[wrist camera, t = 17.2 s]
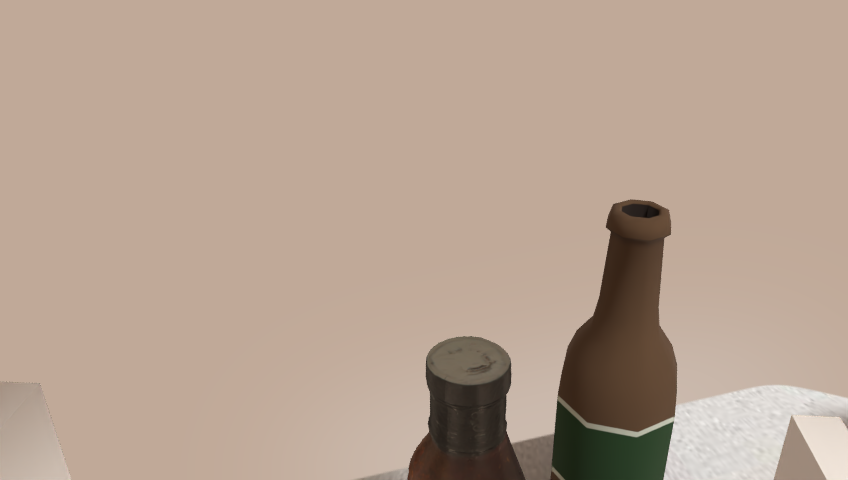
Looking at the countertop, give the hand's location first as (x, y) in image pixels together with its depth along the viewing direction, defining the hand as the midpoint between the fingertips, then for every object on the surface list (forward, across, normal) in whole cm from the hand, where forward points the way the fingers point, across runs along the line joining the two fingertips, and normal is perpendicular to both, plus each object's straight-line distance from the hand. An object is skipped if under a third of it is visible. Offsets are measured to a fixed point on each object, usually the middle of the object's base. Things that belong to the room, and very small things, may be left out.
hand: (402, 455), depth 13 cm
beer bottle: (+28, +10, -32) cm, 44 cm away
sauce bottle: (+18, +1, -31) cm, 36 cm away
